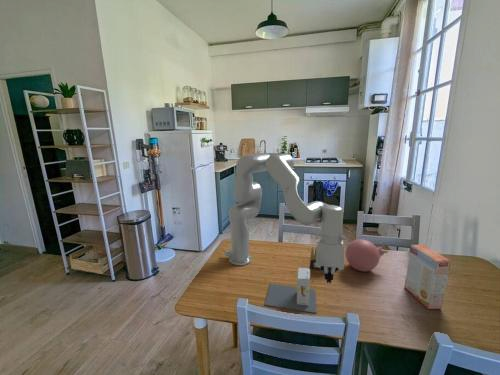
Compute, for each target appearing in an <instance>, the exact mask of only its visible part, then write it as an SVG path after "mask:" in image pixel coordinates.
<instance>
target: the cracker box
mask: <svg viewBox="0 0 500 375" xmlns="http://www.w3.org/2000/svg"><path fill="white" fill-rule="evenodd" d="M451 262H452V261H451V260H450V259H449V258H446V257H445V256H443V255H442V254H440V253H439V252H436V251H435V250H433V249H432V248H430V247H429V246H427V245H425V244H410V250H409V256H408V262H407V268H406V275H405V279H404V280H405V282H404V289H405V290H407V291H408V292H409V293H410V294H411V295H412V297H414V298H415V299H416V300H417V301H419V302H420V304H422V305H423V306H424V308H426V309H427V310H442V306H443V302H444V297H445V293H446V289H447V288H446V287H447V283H448V278H449V272H450V268H451V264H452V263H451Z"/></svg>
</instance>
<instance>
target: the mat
mask: <svg viewBox="0 0 500 375" xmlns="http://www.w3.org/2000/svg"><path fill="white" fill-rule="evenodd" d="M316 297H317V296H316V289H313V288H312V289H311V288H310V290H309V306H306V305H299V304H297V286H292V285H291V286H290V285H284V284H283V285H282V284H276V283H269V286H268V290H267V294H266V297H265V302H264V306H267V307H273V308H279V309H286V310H291V311H298V312H305V313H310V314H317V298H316Z"/></svg>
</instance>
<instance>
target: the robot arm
mask: <svg viewBox="0 0 500 375" xmlns="http://www.w3.org/2000/svg"><path fill="white" fill-rule="evenodd" d="M294 165H295V161H294V158H293V157H292V156H291V155H290V154H288V153H285V152H284V153H279V152H278V153H276V152H275V153H274V152H263V153H262V152H261V153H253V154H252V153H251V154H245V155H242V156H240V157H239V158H238V160H237V162H236V166H235V170H236V175H235V181H234V190H233V199H234V201H235V203H236V204H233V205H232V206H231V207H230V208H229V210H228V219H229V223H230V239H231V240H230V242H231V244H230V245H231V248H230V249H231V250H228V249H227V250H226V249H225V250H224V256H225V257H228V261H229V263H230V264H232V265H235V266H247V265H248V264H250V263H251V262H252V261H253V256H252V255H251V254H250V228H249V225H248V224H247V221H248V220H250V219H253V218H255V217H257V216H258V215H259V213H260V208H261V203H262V197H263V189H262V187H261V185H260V184H259V183H258V182H256V181H254V175H253V173H260V172H266V171H267V172H268V174H269V175H270V176H271V178H272V179H273V180H274V181H275V182H276V183H277V185H278V186H279V188H281V190H282V192H283V199H284V203H285V205H286V208H287V210H288V212H289V213H290V214H291V215H292V217H293V218H294V219H295V220H296V221H297V222H298V223H299V224H301V225H303V226H311V225H313V224H315V223H317V222H319V221H320V222H321V224H320V225H321V226H320V238H318V240H317V244H316V247H317V251H316V263H315V266H316V267H318V268H321V269H322V270H321V271H323V272H324V280H325V281H326V284H332V281H333V280H334V274H335V273H336V272H337V271H343V270H344V269H345V248H344V242H343V241H345V240H347V237H346V236H345V235H343V225H344V224H343V221H344V209H343V208H342V207H341V206H338V205H334V204H327V203H325V202H323V201H319V200H315V201H312V202H309V203H306V204H305V202H304V201H303V199H301V197H300V195H299V194H298V185H299V183H300V181H301V180H300V177H299V176H298V175H297V173H296V172H295V171H294V170H293V169H294ZM327 267H331V269H330V270H329V271H328V269H327Z"/></svg>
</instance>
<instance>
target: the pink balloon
mask: <svg viewBox="0 0 500 375" xmlns="http://www.w3.org/2000/svg"><path fill="white" fill-rule="evenodd" d="M384 254H388V251H387V250H385V249H383V247H382V246H379V247H377V246H376V245H375V244H374V243H372V242H371V241H370V240H368V239H367V240H366V239H365V238H364V239H363V238H358V239H355V240H352V241H351V242H349V243H348V245H347V246H346V249H345V260H346V261H347V262H348V264H349V266H351V267H352V268H353V269H354V270H357V271H358V272H359V271H360V272H370V271H373V270H374V269H375V268H377V266H378V265H379V262H380V259H381V257H382V256H384Z"/></svg>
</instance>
